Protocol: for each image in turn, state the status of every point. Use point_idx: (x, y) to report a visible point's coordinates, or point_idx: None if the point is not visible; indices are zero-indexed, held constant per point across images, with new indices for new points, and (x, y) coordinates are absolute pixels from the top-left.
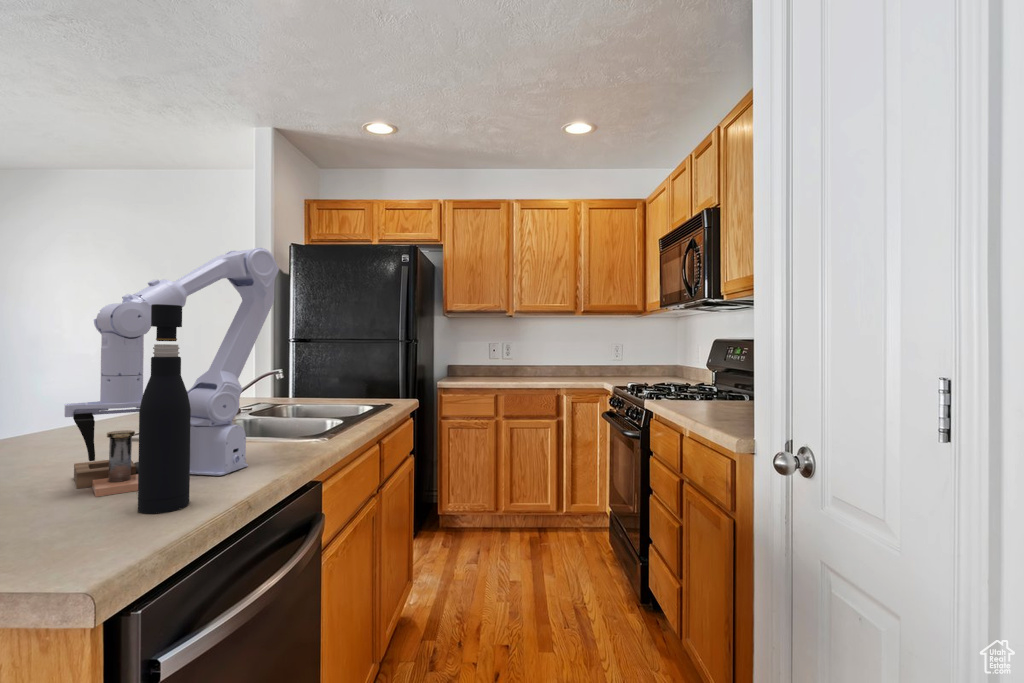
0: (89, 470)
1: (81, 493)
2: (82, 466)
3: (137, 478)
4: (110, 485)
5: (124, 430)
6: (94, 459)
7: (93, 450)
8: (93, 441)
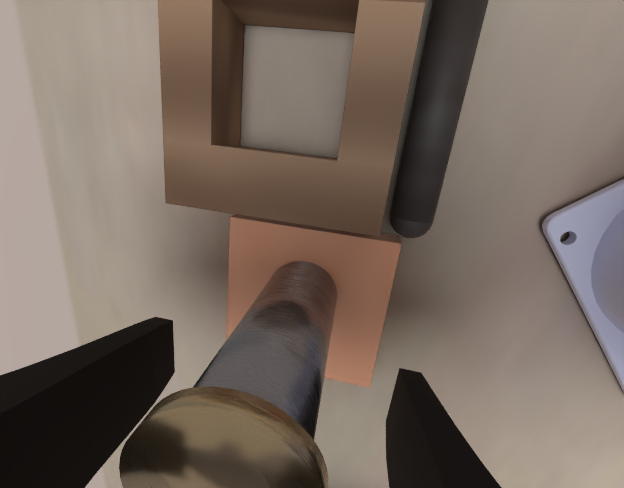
0: (208, 174)
1: (209, 269)
2: (187, 38)
3: (356, 312)
4: None
5: (256, 439)
6: (168, 379)
7: (131, 423)
8: (85, 484)
